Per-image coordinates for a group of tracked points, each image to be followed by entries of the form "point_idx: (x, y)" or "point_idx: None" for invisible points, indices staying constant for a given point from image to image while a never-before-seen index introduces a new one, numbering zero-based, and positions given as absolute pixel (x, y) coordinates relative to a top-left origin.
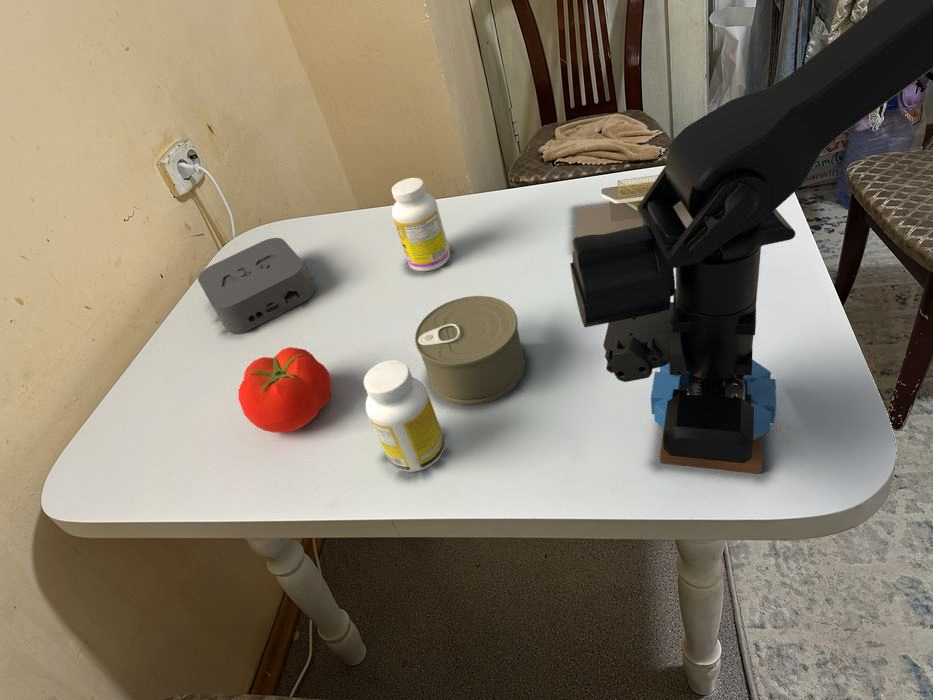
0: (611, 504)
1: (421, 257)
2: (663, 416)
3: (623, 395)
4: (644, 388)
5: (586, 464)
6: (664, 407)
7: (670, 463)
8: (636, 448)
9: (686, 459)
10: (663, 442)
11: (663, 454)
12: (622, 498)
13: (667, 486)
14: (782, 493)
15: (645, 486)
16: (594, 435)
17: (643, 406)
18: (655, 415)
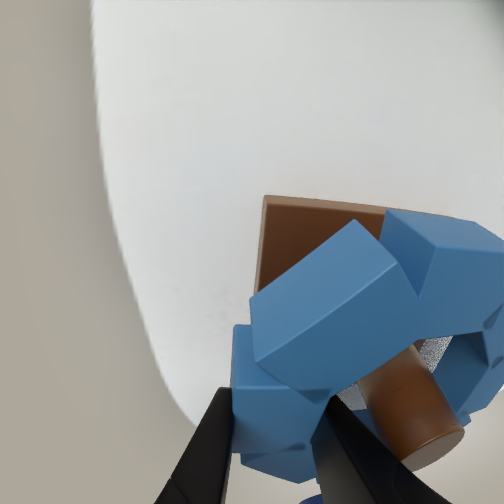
0: (121, 87)
1: None
2: (331, 288)
3: (467, 117)
4: (478, 166)
5: (248, 8)
6: (367, 306)
7: (261, 220)
8: (313, 133)
9: (259, 267)
10: (314, 212)
11: (271, 212)
12: (141, 110)
13: (191, 214)
14: (209, 389)
15: (184, 161)
16: (352, 29)
17: (439, 159)
18: (361, 236)
